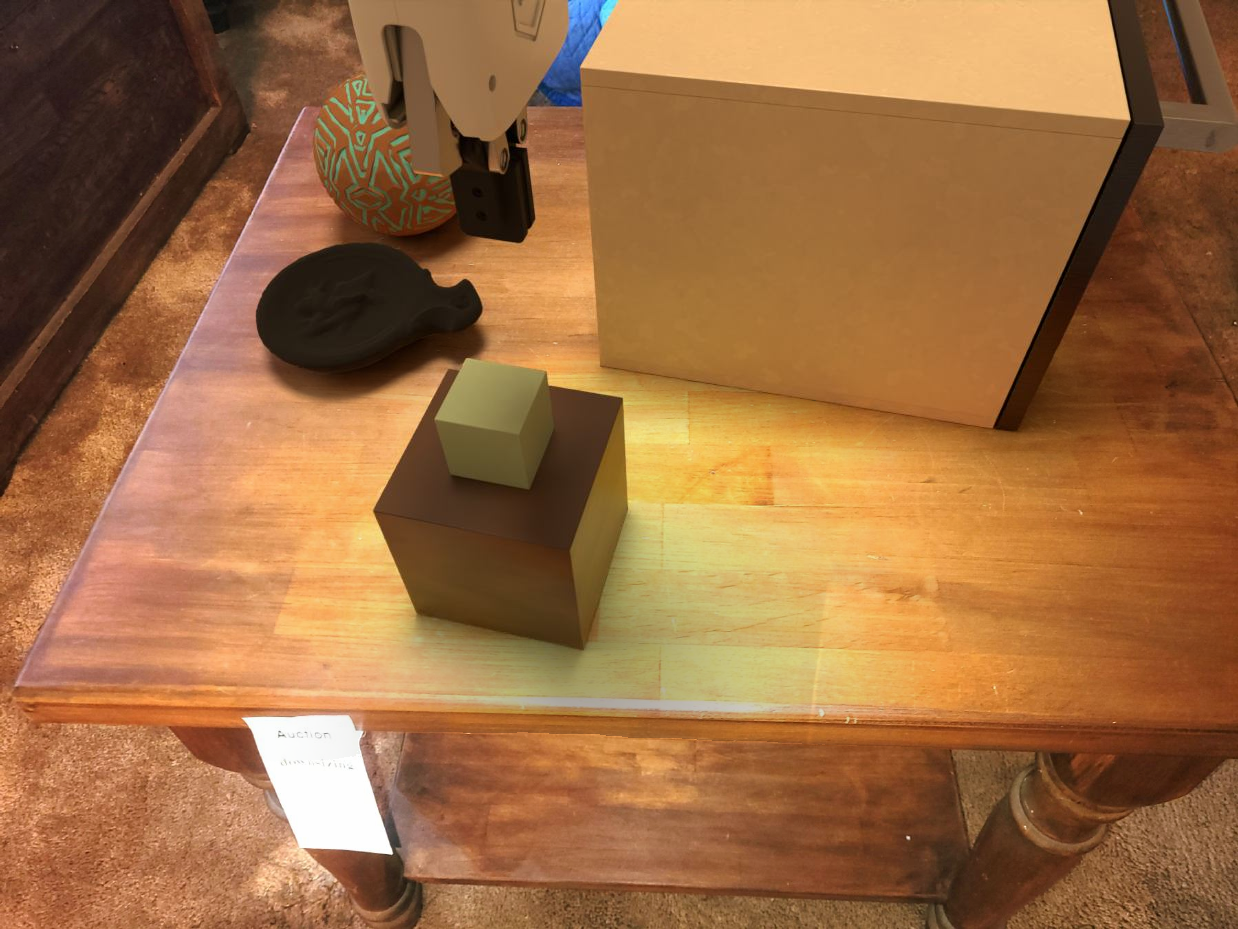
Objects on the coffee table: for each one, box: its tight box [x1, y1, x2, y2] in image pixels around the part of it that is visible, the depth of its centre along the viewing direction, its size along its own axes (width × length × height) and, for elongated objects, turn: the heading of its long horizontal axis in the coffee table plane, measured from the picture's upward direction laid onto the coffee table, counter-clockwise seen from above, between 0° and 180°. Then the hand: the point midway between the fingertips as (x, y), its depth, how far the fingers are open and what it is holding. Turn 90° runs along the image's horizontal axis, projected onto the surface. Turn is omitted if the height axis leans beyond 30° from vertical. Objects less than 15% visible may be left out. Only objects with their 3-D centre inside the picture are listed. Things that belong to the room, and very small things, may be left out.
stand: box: [372, 368, 629, 651], centre depth 58 cm, size 12×12×12 cm
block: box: [435, 357, 554, 490], centre depth 51 cm, size 5×5×5 cm
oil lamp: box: [255, 241, 484, 374], centre depth 76 cm, size 15×20×5 cm
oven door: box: [995, 0, 1238, 432], centre depth 70 cm, size 8×40×26 cm, turn 165°
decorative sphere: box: [312, 70, 457, 236], centre depth 83 cm, size 15×15×15 cm
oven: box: [579, 0, 1131, 429], centre depth 74 cm, size 32×40×26 cm
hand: (498, 228), depth 41 cm, fingers closed
